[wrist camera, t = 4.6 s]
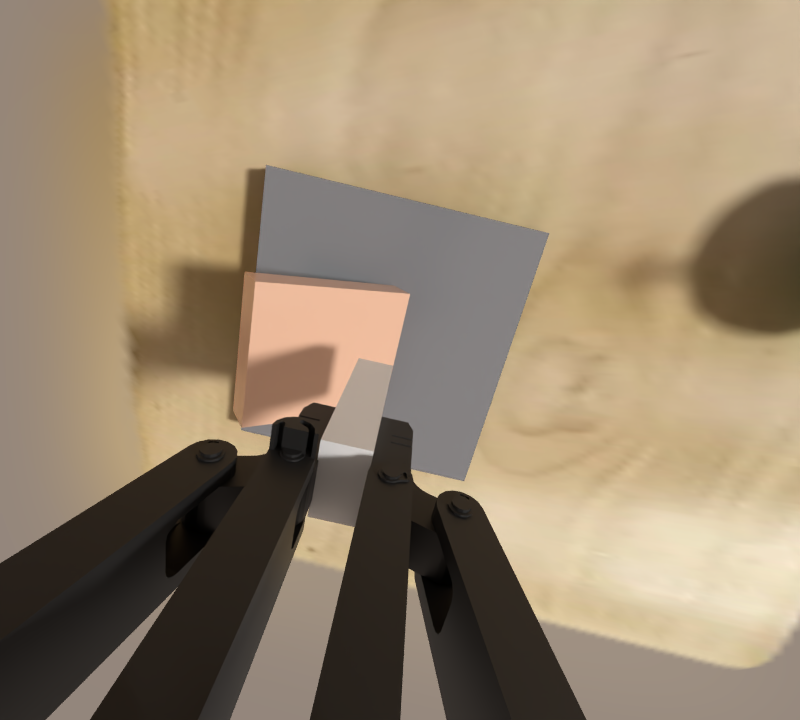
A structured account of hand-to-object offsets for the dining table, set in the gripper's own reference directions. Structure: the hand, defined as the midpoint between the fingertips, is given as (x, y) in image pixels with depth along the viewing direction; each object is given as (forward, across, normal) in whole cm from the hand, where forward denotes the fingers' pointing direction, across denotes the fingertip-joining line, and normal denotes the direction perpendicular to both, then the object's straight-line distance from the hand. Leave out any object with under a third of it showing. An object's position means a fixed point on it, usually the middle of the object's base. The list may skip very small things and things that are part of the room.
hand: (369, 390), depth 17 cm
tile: (+6, 0, 0) cm, 6 cm away
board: (+8, 0, 0) cm, 8 cm away
